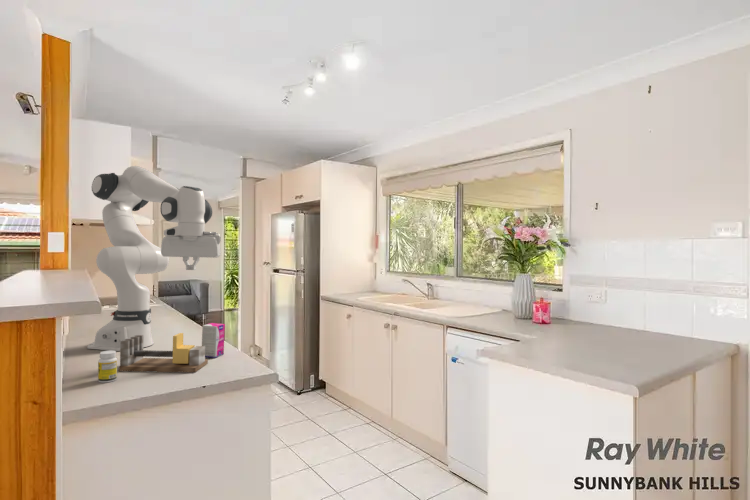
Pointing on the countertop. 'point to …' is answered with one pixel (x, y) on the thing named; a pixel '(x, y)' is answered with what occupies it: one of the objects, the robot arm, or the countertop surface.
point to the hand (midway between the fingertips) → (190, 269)
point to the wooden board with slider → (135, 362)
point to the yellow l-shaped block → (181, 350)
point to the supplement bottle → (107, 367)
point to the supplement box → (213, 339)
